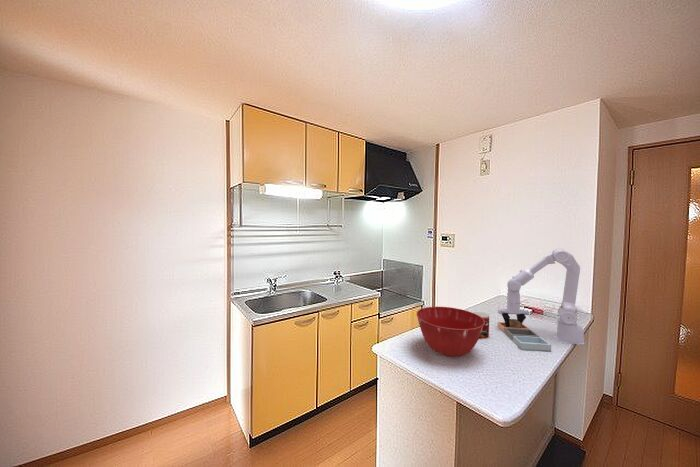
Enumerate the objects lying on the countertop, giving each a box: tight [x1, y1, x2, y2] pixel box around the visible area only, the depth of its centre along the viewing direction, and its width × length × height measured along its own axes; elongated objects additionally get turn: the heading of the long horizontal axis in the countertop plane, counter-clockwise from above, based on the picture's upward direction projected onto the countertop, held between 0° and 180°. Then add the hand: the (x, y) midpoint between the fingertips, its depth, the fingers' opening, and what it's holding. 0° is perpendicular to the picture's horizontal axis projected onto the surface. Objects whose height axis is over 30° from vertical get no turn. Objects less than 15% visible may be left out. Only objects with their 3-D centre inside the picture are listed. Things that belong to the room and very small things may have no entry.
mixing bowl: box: [416, 306, 485, 358], centre depth 118 cm, size 28×28×16 cm
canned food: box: [473, 311, 490, 340], centre depth 133 cm, size 8×8×11 cm
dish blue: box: [512, 336, 552, 352], centre depth 122 cm, size 12×8×3 cm
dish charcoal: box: [504, 328, 541, 341], centre depth 131 cm, size 12×8×3 cm
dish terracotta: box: [497, 321, 531, 334], centre depth 139 cm, size 12×8×3 cm
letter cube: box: [509, 318, 521, 328], centre depth 139 cm, size 5×5×5 cm
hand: (513, 327), depth 139 cm, fingers closed on letter cube, 5 cm apart
